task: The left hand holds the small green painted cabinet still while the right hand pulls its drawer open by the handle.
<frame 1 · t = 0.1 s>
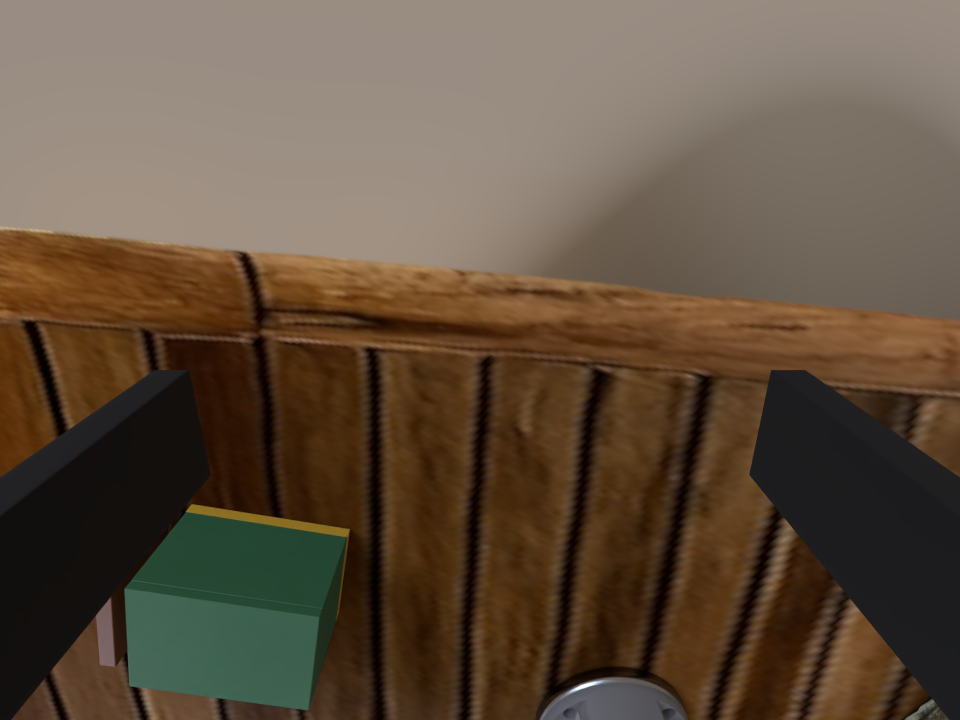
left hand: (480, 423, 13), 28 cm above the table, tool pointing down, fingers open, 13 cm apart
drawer: (168, 590, 44), point 5 cm above the table, slide at 1.5 cm
cabinet: (268, 560, 49), on the table
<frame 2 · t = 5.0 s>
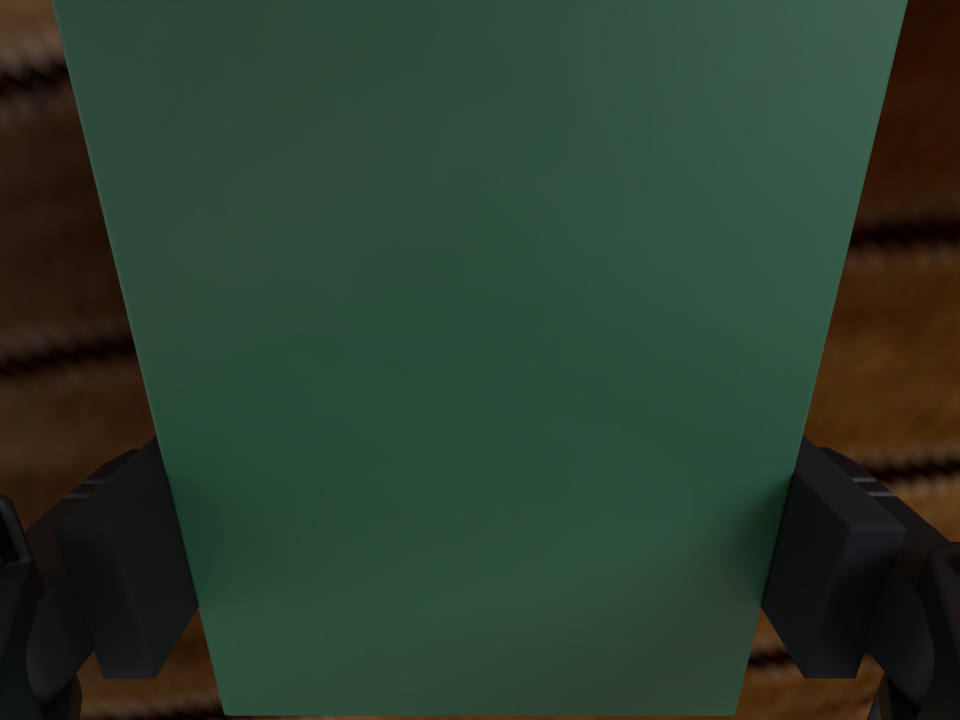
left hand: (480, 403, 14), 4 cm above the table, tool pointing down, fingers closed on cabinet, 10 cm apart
cabinet: (479, 258, 17), on the table, touching left hand
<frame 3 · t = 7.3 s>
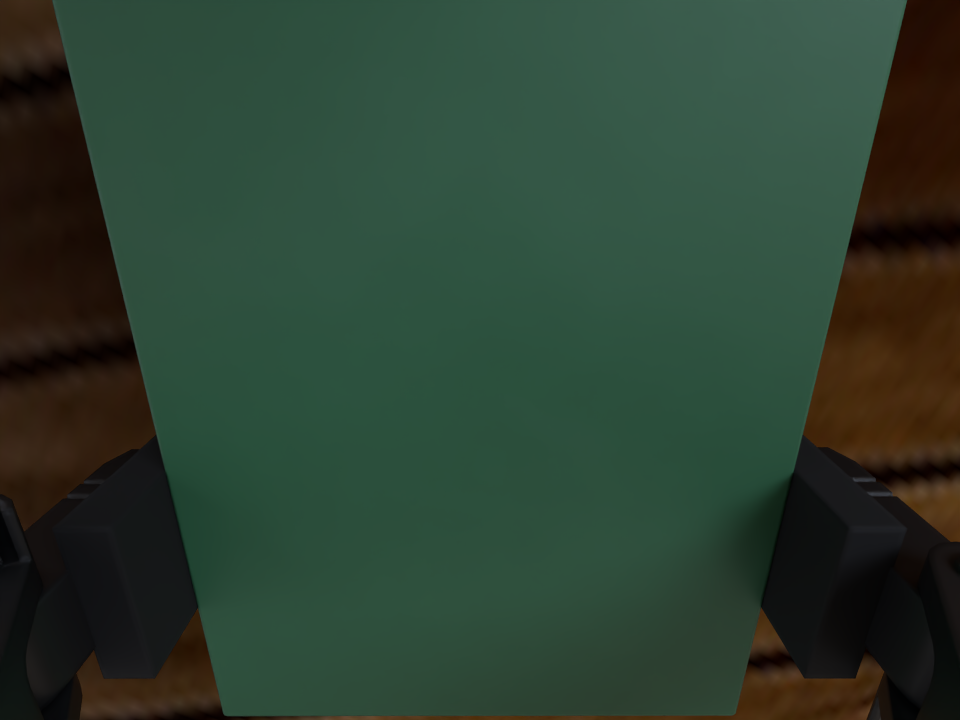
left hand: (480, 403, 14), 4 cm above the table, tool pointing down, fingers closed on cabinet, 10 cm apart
cabinet: (479, 259, 17), on the table, touching left hand
when the left hand's fingers open (5 cm above the table, at t = 9.6 s): cabinet stays where it is, on the table.
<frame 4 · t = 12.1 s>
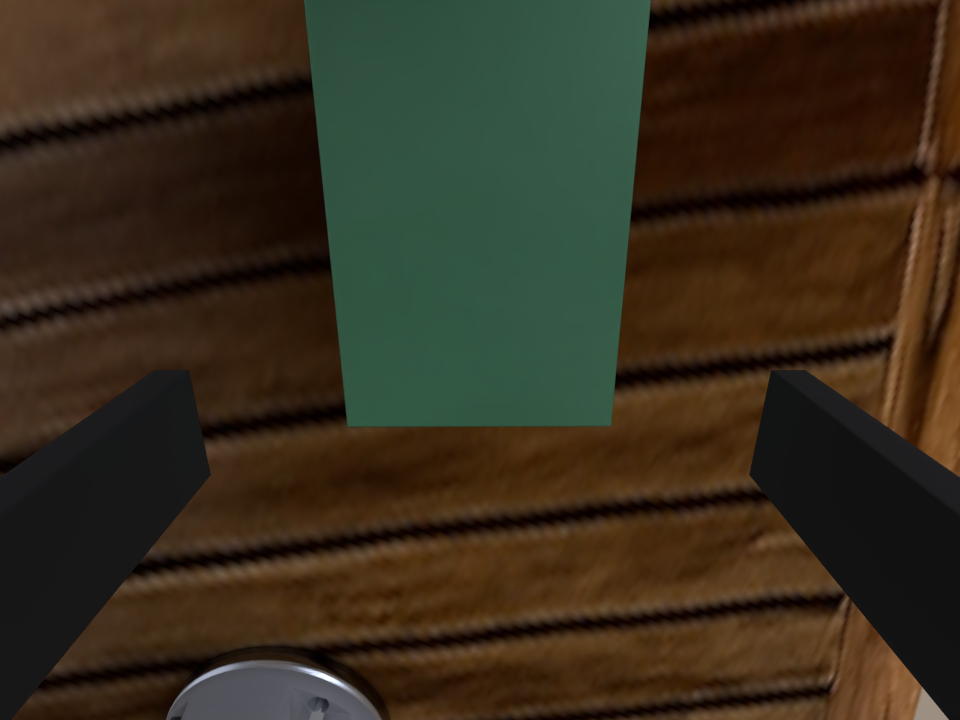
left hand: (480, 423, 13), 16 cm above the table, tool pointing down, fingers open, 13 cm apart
cabinet: (478, 207, 27), on the table
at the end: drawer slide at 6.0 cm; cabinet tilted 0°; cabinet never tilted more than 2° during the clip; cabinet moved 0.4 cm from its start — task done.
